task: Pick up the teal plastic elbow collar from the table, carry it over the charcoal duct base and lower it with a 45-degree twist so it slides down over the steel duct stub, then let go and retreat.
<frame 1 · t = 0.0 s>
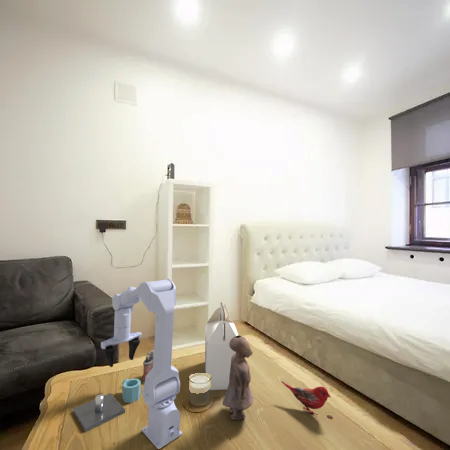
hand: (121, 362, 96), 10 cm above the table, tool pointing down, fingers open, 7 cm apart
decorative bird figurine: (304, 410, 87), on the table
elbow collar: (131, 397, 92), on the table
duct base: (98, 412, 84), on the table
gable box: (221, 374, 108), on the table
clay figurine: (237, 415, 84), on the table
lighter: (149, 378, 105), on the table
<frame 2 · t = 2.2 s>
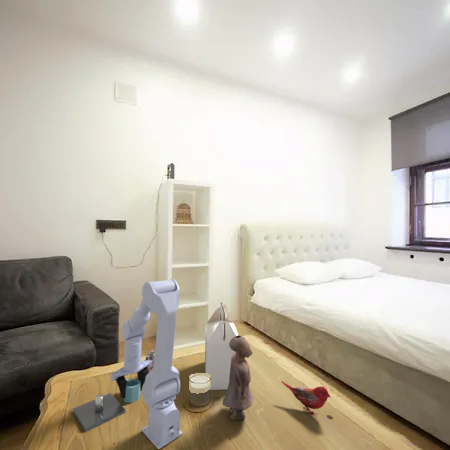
hand: (131, 393, 92), 1 cm above the table, tool pointing down, fingers closed on elbow collar, 6 cm apart
elbow collar: (131, 397, 92), on the table, touching gripper
everything else where it was.
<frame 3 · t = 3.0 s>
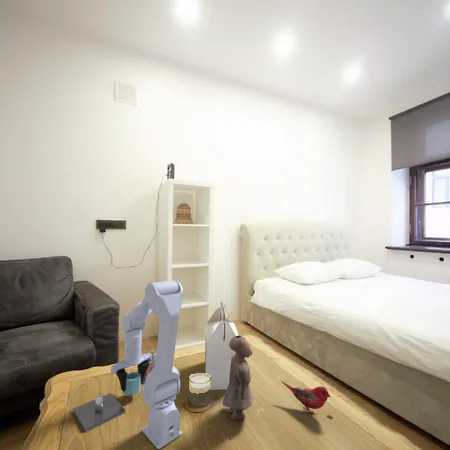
hand: (131, 386, 92), 4 cm above the table, tool pointing down, fingers closed on elbow collar, 6 cm apart
elbow collar: (131, 390, 92), point 2 cm above the table, touching gripper
everything else where it was.
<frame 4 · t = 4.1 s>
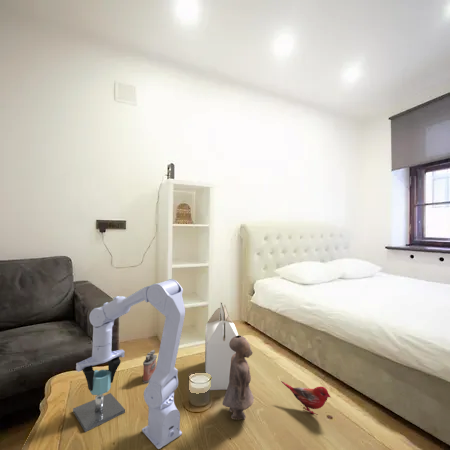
hand: (100, 385, 85), 8 cm above the table, tool pointing down, fingers closed on elbow collar, 6 cm apart
elbow collar: (100, 389, 85), point 7 cm above the table, touching gripper
everything else where it was.
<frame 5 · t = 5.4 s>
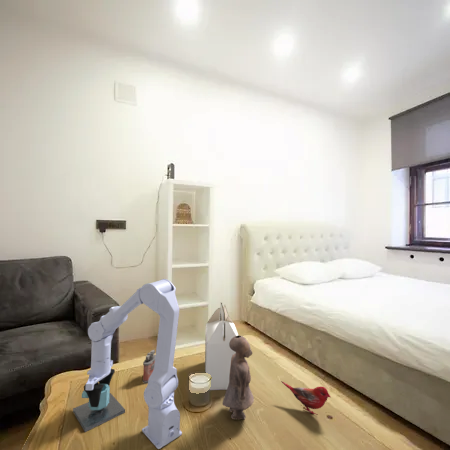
hand: (99, 399, 84), 4 cm above the table, tool pointing down, fingers closed on elbow collar, 6 cm apart
elbow collar: (99, 404, 84), point 2 cm above the table, touching gripper
everything else where it was.
when the fingers open (4 cm above the table, at t = 6.2 s): elbow collar drops 1 cm, resting on duct base.
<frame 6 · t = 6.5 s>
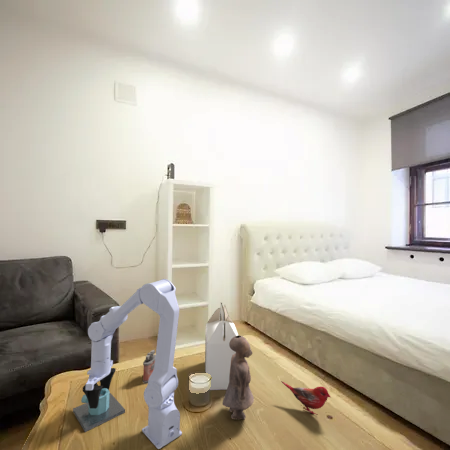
hand: (99, 399, 84), 4 cm above the table, tool pointing down, fingers open, 7 cm apart
elbow collar: (98, 409, 84), point 1 cm above the table, touching duct base
everything else where it was.
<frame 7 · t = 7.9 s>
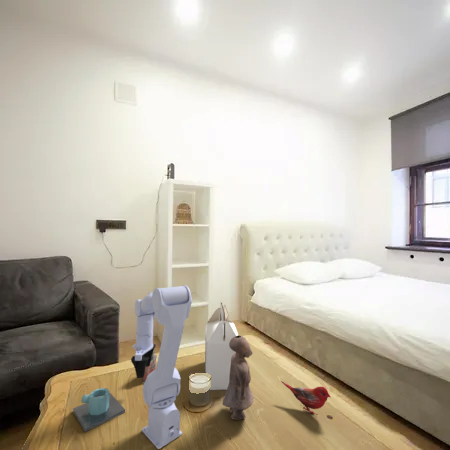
hand: (143, 371, 92), 9 cm above the table, tool pointing down, fingers open, 7 cm apart
nothing on the table moved.
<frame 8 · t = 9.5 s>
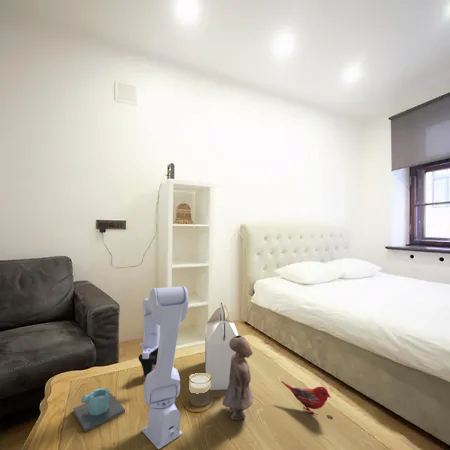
hand: (150, 369, 93), 9 cm above the table, tool pointing down, fingers open, 7 cm apart
nothing on the table moved.
at the end: elbow collar 0.1 cm off-centre on the duct base, point 1.0 cm above the duct base's base; elbow collar tilted 0°; the gripper is holding nothing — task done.
